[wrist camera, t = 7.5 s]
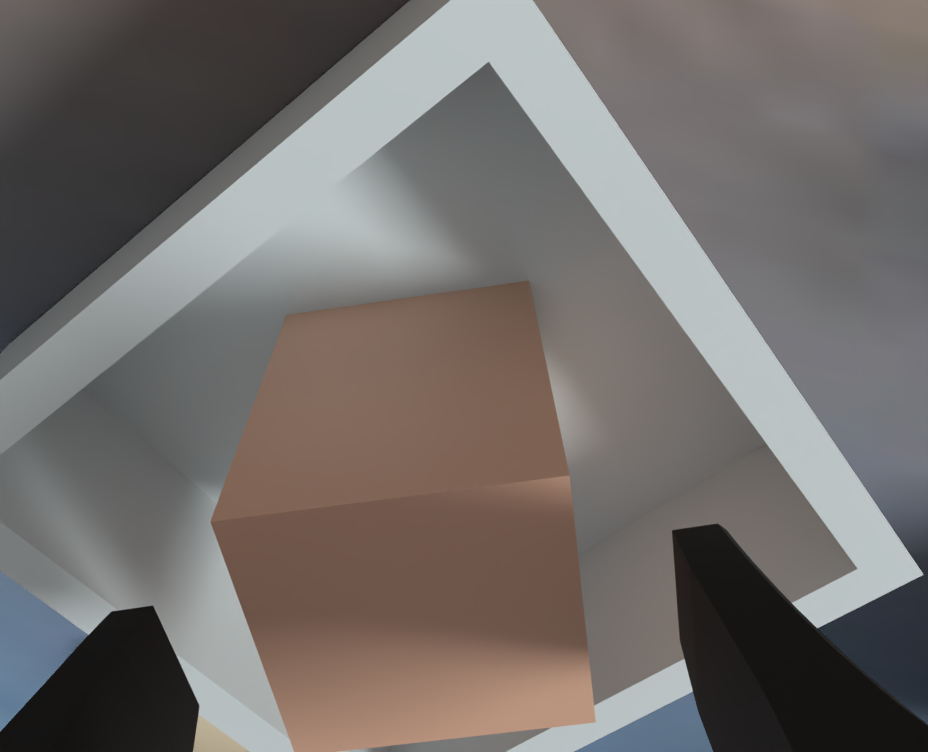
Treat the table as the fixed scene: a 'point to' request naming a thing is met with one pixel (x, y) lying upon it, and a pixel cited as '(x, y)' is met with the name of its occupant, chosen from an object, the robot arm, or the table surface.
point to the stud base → (213, 739)
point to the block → (409, 526)
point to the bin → (410, 275)
